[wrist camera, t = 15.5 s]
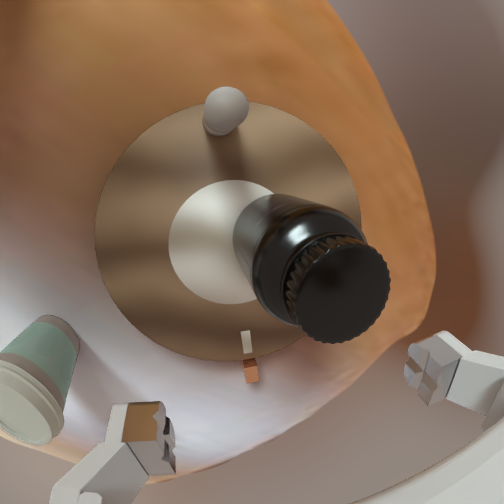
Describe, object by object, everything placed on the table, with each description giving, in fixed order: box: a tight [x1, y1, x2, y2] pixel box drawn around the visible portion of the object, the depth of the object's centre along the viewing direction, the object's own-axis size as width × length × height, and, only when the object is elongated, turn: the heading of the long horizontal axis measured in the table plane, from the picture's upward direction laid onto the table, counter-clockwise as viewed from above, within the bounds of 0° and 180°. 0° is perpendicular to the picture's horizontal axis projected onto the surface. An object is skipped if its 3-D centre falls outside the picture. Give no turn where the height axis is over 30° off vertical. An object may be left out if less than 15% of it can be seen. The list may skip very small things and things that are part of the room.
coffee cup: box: [0, 315, 79, 446], centre depth 21 cm, size 8×9×12 cm
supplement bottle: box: [232, 194, 391, 344], centre depth 18 cm, size 7×7×12 cm
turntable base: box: [241, 358, 259, 383], centre depth 25 cm, size 22×18×4 cm
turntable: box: [95, 87, 362, 361], centre depth 22 cm, size 22×22×8 cm
